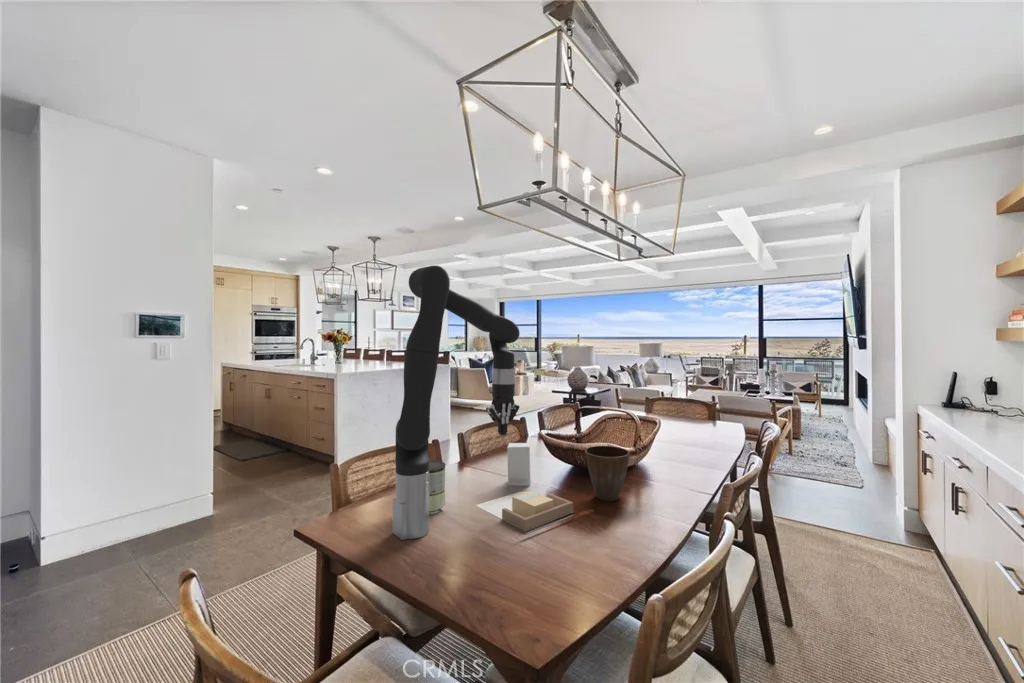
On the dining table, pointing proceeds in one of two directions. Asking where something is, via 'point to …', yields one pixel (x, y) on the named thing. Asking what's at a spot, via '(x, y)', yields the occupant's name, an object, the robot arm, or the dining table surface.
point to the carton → (530, 503)
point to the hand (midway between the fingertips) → (502, 434)
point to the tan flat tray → (504, 512)
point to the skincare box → (519, 464)
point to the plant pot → (607, 470)
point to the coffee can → (436, 486)
